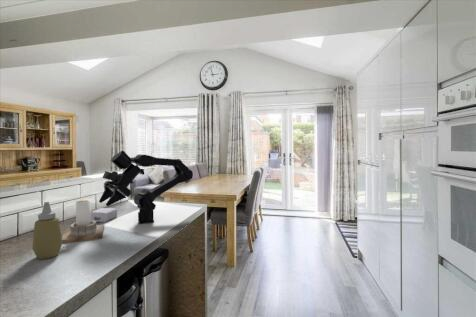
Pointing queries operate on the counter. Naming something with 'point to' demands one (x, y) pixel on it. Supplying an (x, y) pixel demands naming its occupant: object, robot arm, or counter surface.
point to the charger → (103, 214)
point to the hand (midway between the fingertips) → (103, 203)
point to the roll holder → (83, 232)
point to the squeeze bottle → (47, 234)
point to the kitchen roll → (83, 212)
